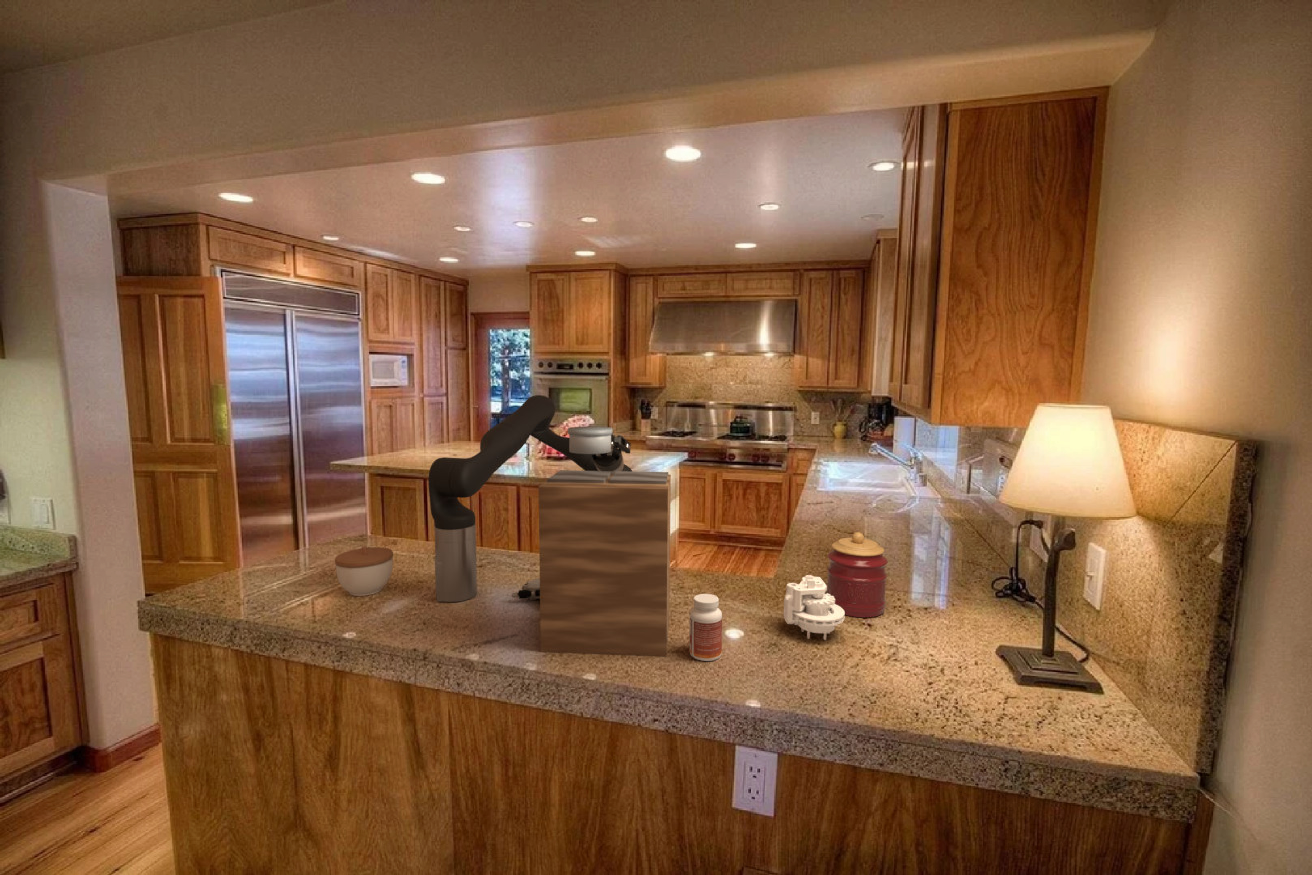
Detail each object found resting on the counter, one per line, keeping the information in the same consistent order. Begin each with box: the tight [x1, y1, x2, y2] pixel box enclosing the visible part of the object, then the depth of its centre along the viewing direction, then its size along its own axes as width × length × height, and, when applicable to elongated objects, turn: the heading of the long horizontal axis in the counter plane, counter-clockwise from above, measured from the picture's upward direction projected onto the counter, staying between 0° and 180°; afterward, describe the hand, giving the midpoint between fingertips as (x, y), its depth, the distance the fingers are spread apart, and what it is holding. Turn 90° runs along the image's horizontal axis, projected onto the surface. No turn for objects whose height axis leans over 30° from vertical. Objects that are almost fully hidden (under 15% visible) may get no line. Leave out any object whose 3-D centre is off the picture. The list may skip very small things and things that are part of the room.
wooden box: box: [538, 469, 672, 657], centre depth 115 cm, size 16×24×33 cm, turn 87°
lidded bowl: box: [334, 545, 394, 597], centre depth 139 cm, size 13×13×11 cm
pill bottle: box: [688, 593, 723, 662], centre depth 108 cm, size 6×6×11 cm
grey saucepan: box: [567, 426, 613, 454], centre depth 131 cm, size 23×10×5 cm, turn 176°
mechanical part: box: [783, 574, 846, 641], centre depth 117 cm, size 11×12×12 cm
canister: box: [825, 531, 889, 618], centre depth 131 cm, size 13×13×18 cm
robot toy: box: [511, 578, 540, 601], centre depth 135 cm, size 12×4×15 cm
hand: (598, 432), depth 134 cm, fingers closed on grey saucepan, 3 cm apart
